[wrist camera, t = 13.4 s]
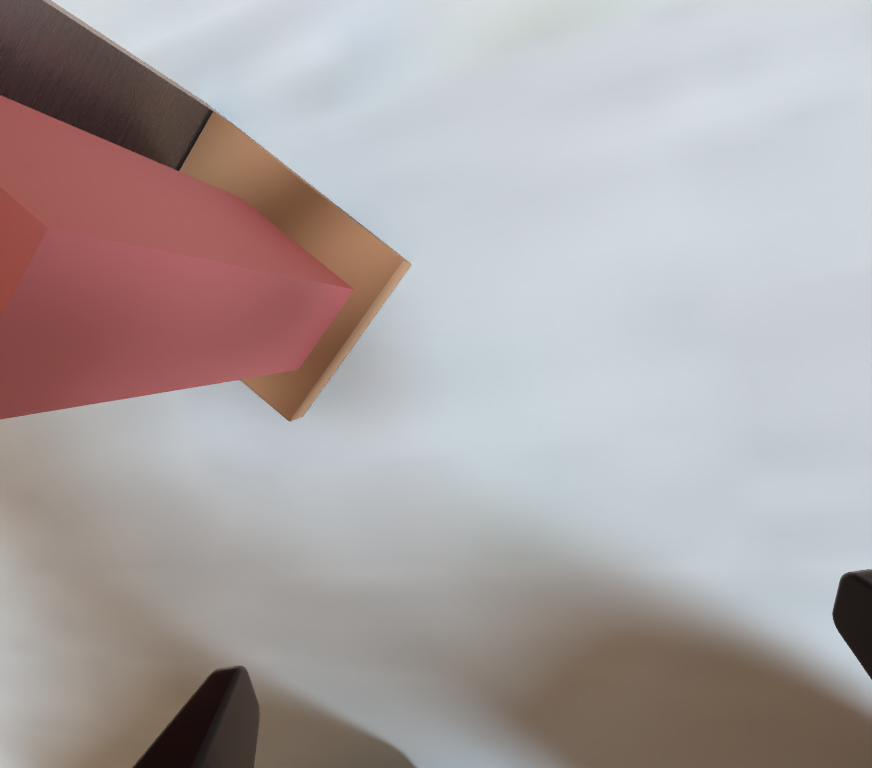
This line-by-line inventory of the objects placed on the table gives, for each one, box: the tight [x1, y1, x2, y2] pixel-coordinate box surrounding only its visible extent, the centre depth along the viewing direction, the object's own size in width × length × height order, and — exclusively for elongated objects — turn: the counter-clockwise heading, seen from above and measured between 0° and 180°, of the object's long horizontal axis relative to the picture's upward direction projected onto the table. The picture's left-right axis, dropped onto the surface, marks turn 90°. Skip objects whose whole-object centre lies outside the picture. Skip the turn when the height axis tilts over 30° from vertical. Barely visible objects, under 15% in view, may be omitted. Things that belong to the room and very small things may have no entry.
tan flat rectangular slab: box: [179, 111, 411, 421], centre depth 21 cm, size 10×8×1 cm
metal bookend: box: [0, 0, 227, 171], centre depth 18 cm, size 2×8×9 cm, turn 142°
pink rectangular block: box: [0, 95, 354, 419], centre depth 14 cm, size 6×4×12 cm, turn 52°
